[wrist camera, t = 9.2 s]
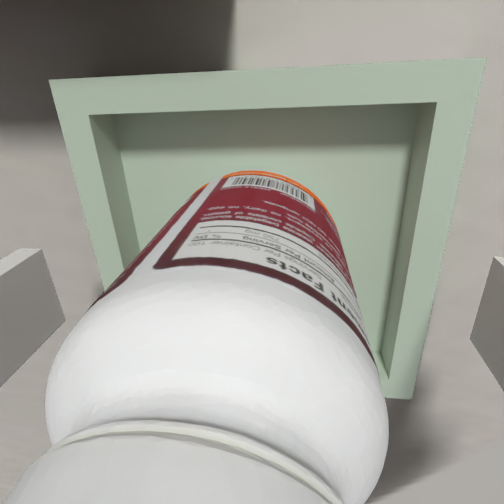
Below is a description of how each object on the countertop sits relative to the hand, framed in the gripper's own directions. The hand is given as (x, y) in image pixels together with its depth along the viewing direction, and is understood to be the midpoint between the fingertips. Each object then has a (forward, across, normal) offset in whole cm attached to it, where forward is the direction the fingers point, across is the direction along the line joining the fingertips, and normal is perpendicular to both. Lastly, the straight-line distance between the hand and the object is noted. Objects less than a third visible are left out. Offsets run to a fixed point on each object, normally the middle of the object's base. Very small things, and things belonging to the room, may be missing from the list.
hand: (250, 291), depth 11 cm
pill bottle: (+4, 0, 0) cm, 4 cm away
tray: (+4, 0, 0) cm, 4 cm away
